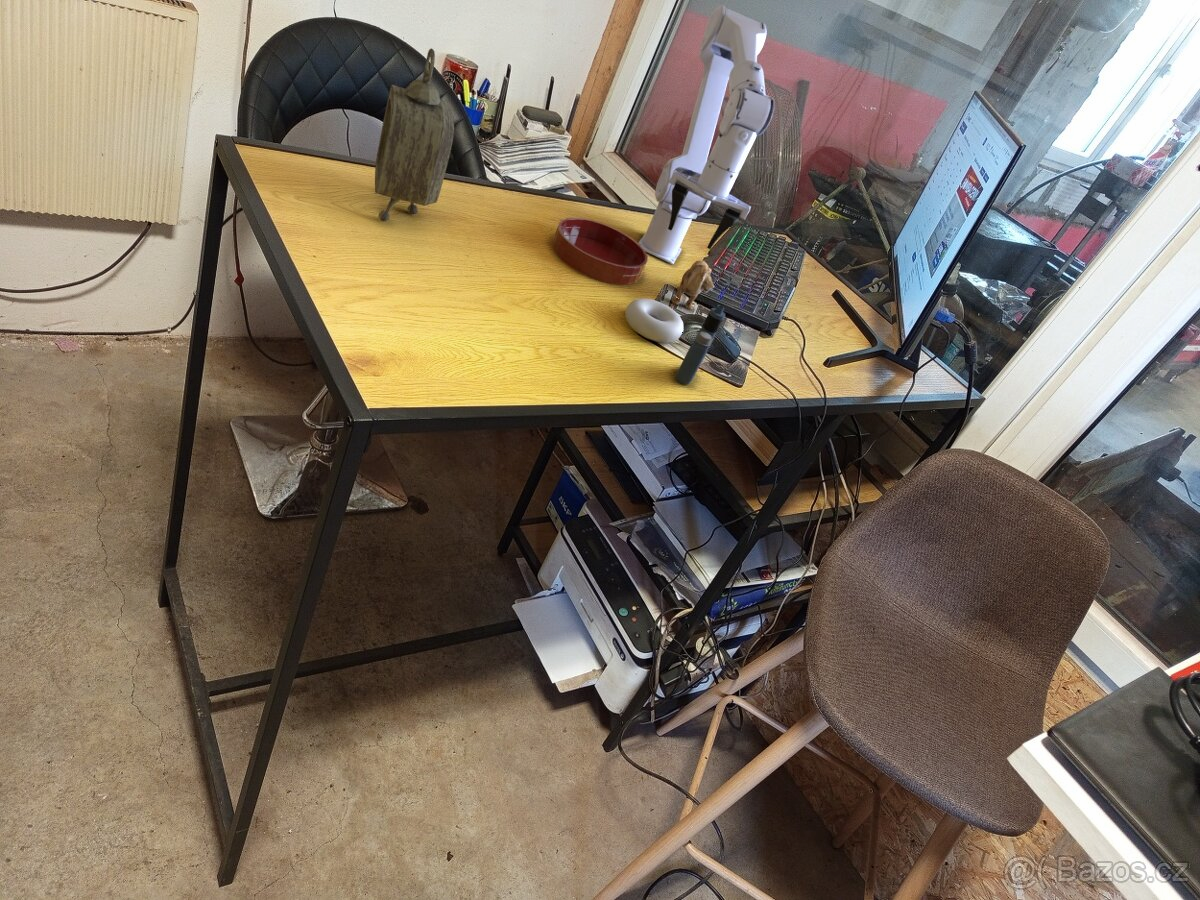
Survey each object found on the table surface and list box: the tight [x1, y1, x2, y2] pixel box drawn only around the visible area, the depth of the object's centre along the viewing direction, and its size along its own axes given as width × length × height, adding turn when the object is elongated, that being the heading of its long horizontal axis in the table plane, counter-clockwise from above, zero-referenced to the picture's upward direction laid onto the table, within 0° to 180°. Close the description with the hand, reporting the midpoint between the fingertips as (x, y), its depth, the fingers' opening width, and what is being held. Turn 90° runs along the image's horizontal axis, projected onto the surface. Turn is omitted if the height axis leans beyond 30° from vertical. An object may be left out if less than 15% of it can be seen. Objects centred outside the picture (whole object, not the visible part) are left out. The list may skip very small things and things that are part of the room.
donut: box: [624, 298, 684, 344], centre depth 125 cm, size 10×3×10 cm
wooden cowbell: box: [374, 48, 455, 222], centre depth 118 cm, size 14×9×25 cm, turn 14°
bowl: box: [551, 217, 649, 286], centre depth 138 cm, size 17×17×4 cm
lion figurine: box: [671, 260, 715, 310], centre depth 138 cm, size 15×5×9 cm, turn 173°
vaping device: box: [675, 304, 726, 386], centre depth 114 cm, size 3×5×12 cm, turn 161°
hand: (689, 237), depth 138 cm, fingers open, 7 cm apart
